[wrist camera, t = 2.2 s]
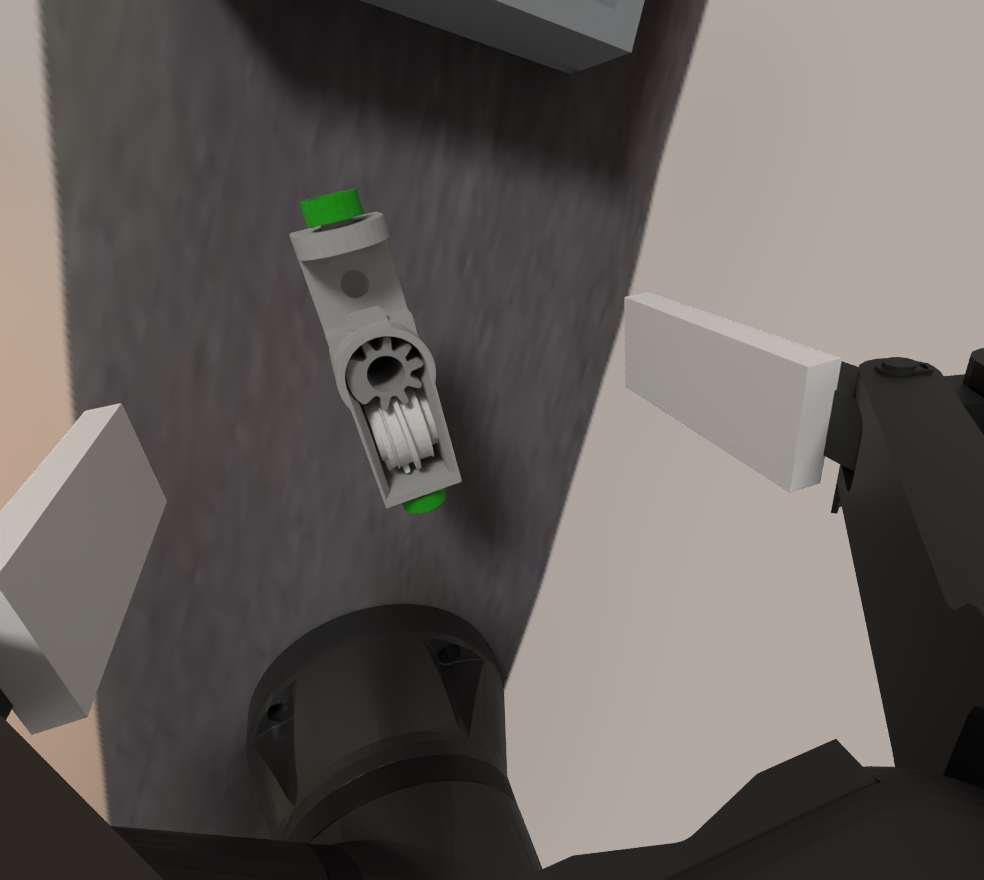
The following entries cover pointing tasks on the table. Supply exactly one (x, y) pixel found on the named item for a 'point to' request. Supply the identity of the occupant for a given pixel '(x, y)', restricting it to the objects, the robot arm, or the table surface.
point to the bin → (535, 26)
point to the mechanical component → (376, 350)
